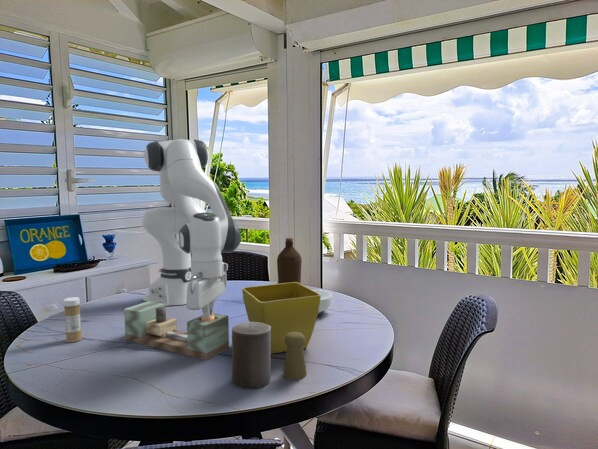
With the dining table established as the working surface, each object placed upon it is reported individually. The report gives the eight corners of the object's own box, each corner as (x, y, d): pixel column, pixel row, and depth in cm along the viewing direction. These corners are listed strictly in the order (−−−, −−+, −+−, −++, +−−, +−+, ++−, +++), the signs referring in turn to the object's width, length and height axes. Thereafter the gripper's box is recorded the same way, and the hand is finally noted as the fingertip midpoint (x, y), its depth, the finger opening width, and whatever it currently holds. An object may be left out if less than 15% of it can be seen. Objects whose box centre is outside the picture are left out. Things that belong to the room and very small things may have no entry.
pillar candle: (238, 392, 104) (238, 331, 103) (227, 375, 113) (227, 318, 112) (276, 385, 108) (276, 326, 107) (263, 369, 117) (263, 314, 115)
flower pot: (241, 338, 139) (241, 286, 138) (296, 330, 147) (296, 281, 145) (260, 361, 122) (260, 302, 120) (322, 350, 129) (322, 295, 128)
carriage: (146, 335, 136) (145, 310, 135) (162, 328, 142) (162, 304, 141) (160, 338, 133) (159, 312, 132) (176, 331, 139) (176, 306, 138)
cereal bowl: (337, 309, 171) (338, 291, 170) (321, 321, 156) (321, 302, 155) (298, 304, 178) (298, 286, 177) (279, 315, 163) (279, 297, 162)
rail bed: (125, 339, 138) (124, 308, 137) (150, 330, 147) (148, 301, 146) (206, 360, 123) (206, 325, 122) (228, 348, 131) (228, 315, 130)
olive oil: (306, 294, 192) (306, 237, 189) (291, 299, 184) (290, 240, 181) (288, 290, 199) (287, 235, 196) (272, 295, 190) (271, 238, 188)
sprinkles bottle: (82, 336, 141) (79, 295, 140) (81, 341, 137) (79, 299, 136) (65, 339, 139) (63, 297, 138) (65, 343, 135) (62, 301, 134)
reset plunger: (199, 330, 127) (199, 317, 127) (207, 326, 130) (207, 313, 130) (209, 332, 126) (208, 318, 125) (217, 328, 129) (216, 315, 128)
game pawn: (282, 369, 117) (282, 329, 115) (305, 368, 117) (305, 328, 116) (284, 380, 111) (283, 337, 109) (307, 379, 111) (307, 337, 110)
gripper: (201, 277, 115) (203, 328, 117) (229, 263, 135) (230, 307, 137) (179, 276, 117) (181, 327, 118) (210, 262, 137) (211, 305, 138)
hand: (208, 316), depth 127 cm, fingers closed, pressing on reset plunger
